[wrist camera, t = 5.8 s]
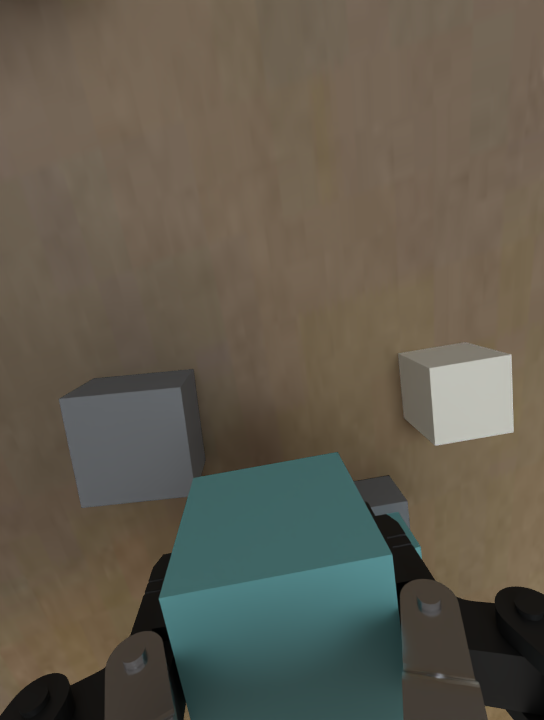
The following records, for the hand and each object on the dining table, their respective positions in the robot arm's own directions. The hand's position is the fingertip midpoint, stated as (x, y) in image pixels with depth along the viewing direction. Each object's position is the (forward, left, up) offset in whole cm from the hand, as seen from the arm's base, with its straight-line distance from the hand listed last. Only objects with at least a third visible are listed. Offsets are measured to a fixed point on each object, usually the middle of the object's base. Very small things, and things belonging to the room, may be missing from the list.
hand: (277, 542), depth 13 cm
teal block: (0, 0, -1) cm, 1 cm away
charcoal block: (-7, -5, -15) cm, 17 cm away
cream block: (+11, +7, -15) cm, 20 cm away
